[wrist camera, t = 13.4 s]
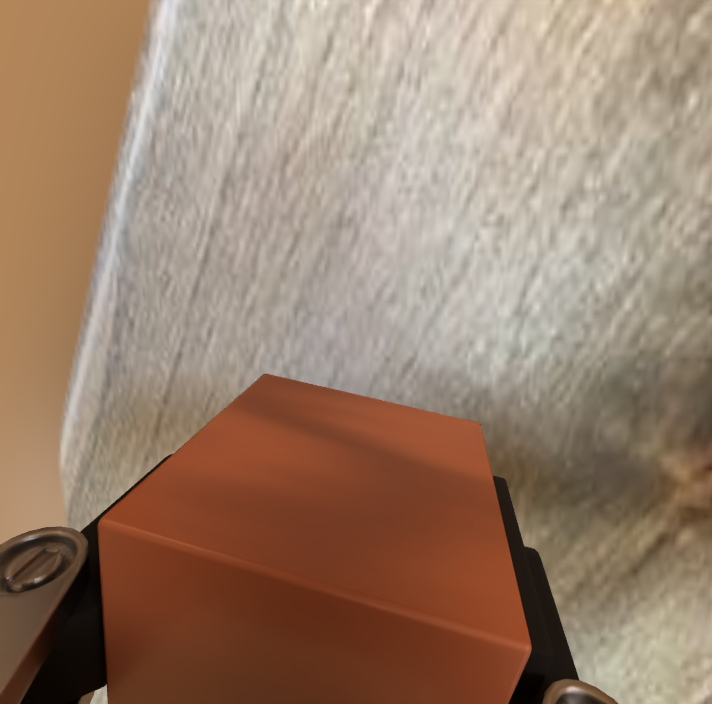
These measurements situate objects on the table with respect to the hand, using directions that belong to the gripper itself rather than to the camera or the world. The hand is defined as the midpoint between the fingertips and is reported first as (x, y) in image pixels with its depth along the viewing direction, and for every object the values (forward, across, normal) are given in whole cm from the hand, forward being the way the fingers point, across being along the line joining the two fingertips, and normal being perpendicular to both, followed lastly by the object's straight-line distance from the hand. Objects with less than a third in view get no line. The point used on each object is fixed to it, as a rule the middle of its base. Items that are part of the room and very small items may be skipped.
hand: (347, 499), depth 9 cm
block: (0, 0, 0) cm, 0 cm away
